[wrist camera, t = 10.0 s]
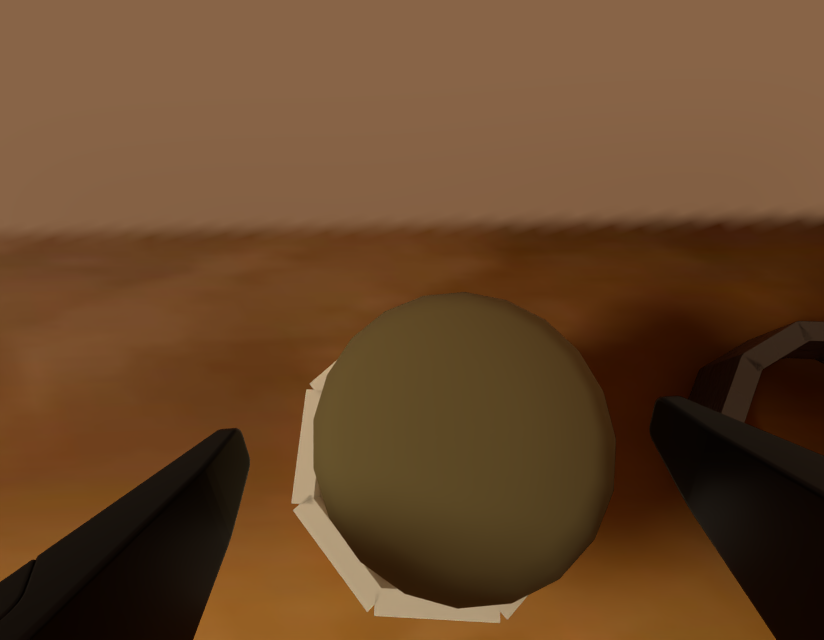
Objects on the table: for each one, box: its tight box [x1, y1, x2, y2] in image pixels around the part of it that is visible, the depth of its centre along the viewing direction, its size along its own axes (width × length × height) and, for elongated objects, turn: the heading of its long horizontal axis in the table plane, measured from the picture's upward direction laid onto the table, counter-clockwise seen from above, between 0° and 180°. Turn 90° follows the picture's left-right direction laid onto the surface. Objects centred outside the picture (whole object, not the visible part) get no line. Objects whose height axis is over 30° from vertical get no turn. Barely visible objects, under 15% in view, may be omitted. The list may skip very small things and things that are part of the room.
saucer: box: [291, 361, 528, 623], centre depth 16 cm, size 11×11×2 cm
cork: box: [313, 292, 616, 609], centre depth 11 cm, size 6×6×11 cm
